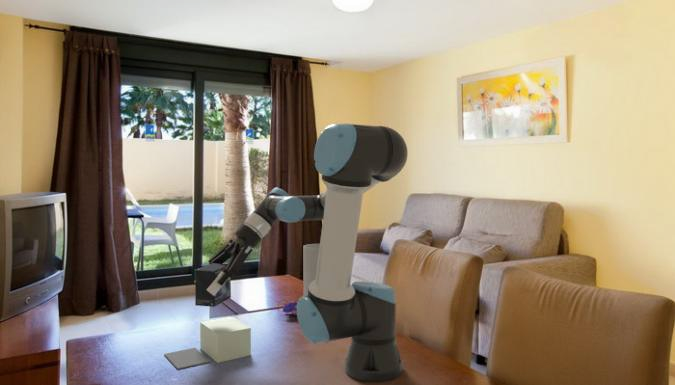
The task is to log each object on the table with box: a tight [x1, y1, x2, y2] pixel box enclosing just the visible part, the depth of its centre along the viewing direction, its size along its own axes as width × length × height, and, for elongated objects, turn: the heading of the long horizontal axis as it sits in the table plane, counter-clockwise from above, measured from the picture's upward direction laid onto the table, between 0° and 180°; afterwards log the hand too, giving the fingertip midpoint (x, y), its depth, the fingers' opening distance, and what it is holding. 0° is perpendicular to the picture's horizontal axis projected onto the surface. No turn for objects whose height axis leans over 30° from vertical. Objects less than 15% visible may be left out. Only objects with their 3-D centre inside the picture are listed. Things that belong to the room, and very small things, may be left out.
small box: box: [194, 263, 232, 308], centre depth 142 cm, size 11×6×10 cm, turn 166°
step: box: [199, 316, 252, 364], centre depth 143 cm, size 14×10×8 cm
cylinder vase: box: [302, 243, 320, 296], centre depth 188 cm, size 12×12×25 cm
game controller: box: [277, 299, 298, 321], centre depth 180 cm, size 10×8×10 cm
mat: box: [163, 347, 211, 371], centre depth 138 cm, size 13×9×1 cm
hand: (203, 288), depth 141 cm, fingers closed on small box, 11 cm apart
